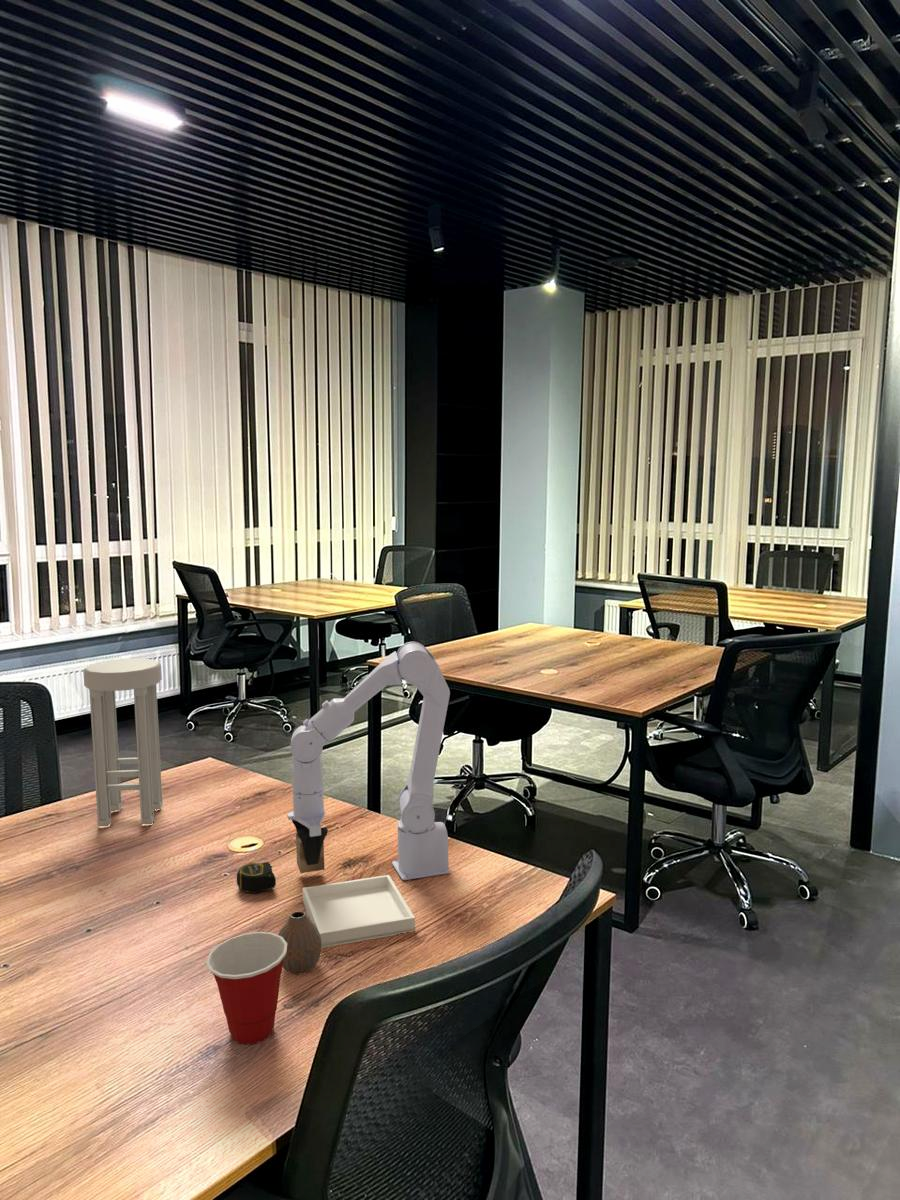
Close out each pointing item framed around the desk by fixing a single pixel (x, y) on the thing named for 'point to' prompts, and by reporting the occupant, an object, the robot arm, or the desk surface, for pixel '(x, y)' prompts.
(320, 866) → the walnut block
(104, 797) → the stool
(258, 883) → the tape measure
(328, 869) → the desk surface
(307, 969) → the vase
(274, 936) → the plastic cup
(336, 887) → the tray
